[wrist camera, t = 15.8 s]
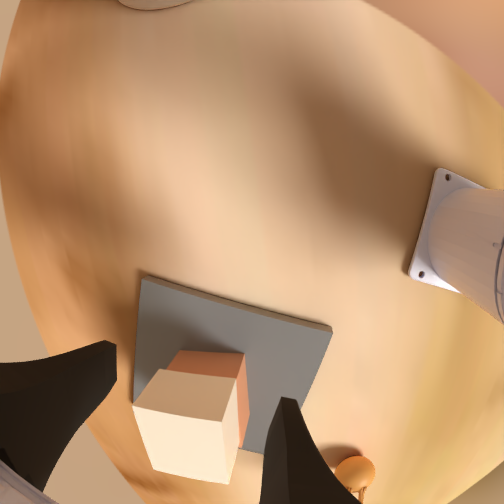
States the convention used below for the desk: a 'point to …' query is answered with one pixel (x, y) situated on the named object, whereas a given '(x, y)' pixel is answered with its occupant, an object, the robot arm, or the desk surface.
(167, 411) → the cream brick
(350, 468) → the figurine
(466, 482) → the desk surface
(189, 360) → the terracotta brick
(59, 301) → the desk surface
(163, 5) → the cylinder vase
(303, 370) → the baseplate
